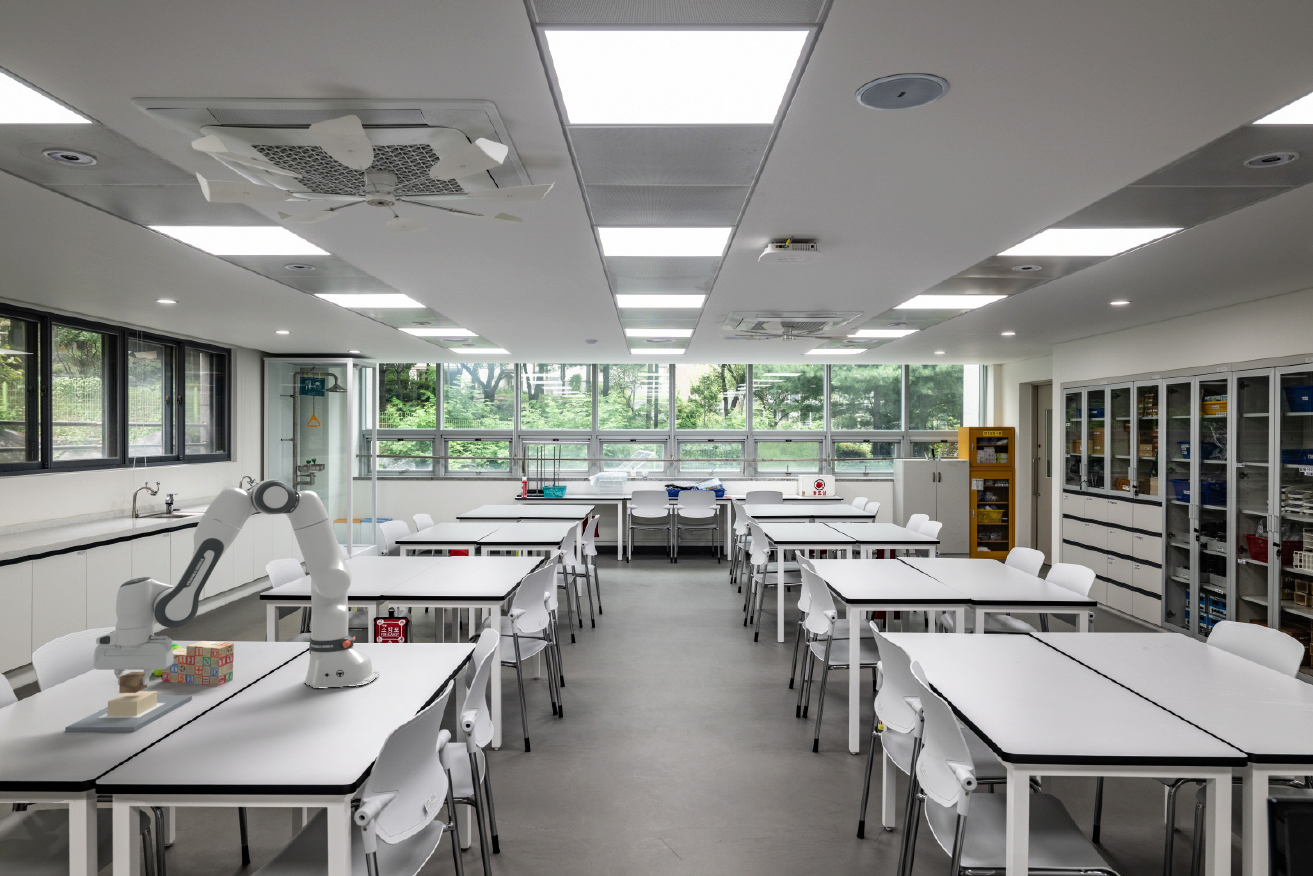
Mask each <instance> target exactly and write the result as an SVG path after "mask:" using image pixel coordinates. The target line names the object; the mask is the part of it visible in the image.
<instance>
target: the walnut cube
mask: <svg viewBox="0 0 1313 876" xmlns="http://www.w3.org/2000/svg"><path fill="white" fill-rule="evenodd" d="M145 674H146V673H144V671H130V672H127V673H126V674H125V673H124V675H123V676H121V677H120V685H118V686H119V687H118V688H119V691H118V693H119V694H125V693H137V692H139V691H144V690H145V689H147V688H148V684H146V685H140V679H141V678H143V677H144V675H145Z"/></svg>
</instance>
